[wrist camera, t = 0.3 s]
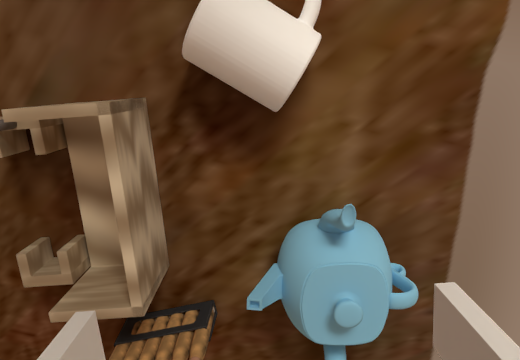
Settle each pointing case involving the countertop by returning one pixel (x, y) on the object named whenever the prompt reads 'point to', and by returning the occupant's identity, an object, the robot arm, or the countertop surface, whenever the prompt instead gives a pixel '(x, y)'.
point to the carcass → (97, 206)
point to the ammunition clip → (167, 334)
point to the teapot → (335, 281)
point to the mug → (253, 46)
